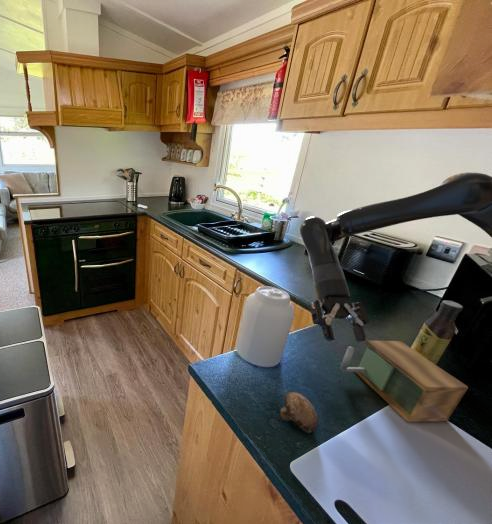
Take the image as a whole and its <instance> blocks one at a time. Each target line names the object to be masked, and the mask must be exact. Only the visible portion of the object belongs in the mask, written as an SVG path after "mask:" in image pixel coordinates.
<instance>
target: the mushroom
mask: <svg viewBox="0 0 492 524" xmlns="http://www.w3.org/2000/svg"><path fill="white" fill-rule="evenodd" d="M279 413H280V417H281V419H282V420H283V421H286V422H289V421H293V422H294V423H295V424H296V425H297V426H298V427H299V428H300V429H301V430H302V431H303V432H305V433H308V434H310V433H313V432H315V431H316V430H317V428H318V425H319V424H318V423H319V422H318V421H319V418H318V414H317V411H316V409H315V407H314V405H313V404H312V403H311V401H309V399H308V398H307V397H305V396H304V395H303V394H301V393H300V392H296V391H288V392H287V393H286V394H285V397H284V406H283V407H281V408H280V411H279Z"/></svg>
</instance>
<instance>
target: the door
mask: <svg viewBox="0 0 492 524" xmlns="http://www.w3.org/2000/svg"><path fill="white" fill-rule="evenodd" d="M354 352H355V348H354V347H353V346H348V347H347V349H346V351H345V354H344V356H343V358H342V361H341V364H340V367H339V368H340V370H341V371H342V373H356V372H362V373H363V374H364V375H365V376H366V377H367V378H368V379H369V380H370V381H371V382H372V383H374V384H375V385H376V386H377V387H378V388H379V389H380V390H381V391H384V389H385V387H386V385H387V383H388V380H389V378H390V376H391V374H392V372H393V370H394V368H395V367H394V366H393V365H392V364H390V363H389V362H388V361H386V360H385V359H384V358H383V357H381V356H380V355H379V354H378V353H376V352H375V351H374V350H373V349H371V348H370V347H366V349H365V351H364V354H363V356H362V358H361V361H360V363H359V365H358V366H349V365H350V362H351V361H352V357H353V355H354Z"/></svg>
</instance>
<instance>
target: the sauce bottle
mask: <svg viewBox="0 0 492 524" xmlns="http://www.w3.org/2000/svg"><path fill="white" fill-rule="evenodd" d="M463 308H464V306H463V305H461V304H460V303H458V302H455V301H453V300H442V301H441V302H440V306H439V308H438V310H437V312H436V313H434V314H433V315H432V316H431V317H429V318H428V319H427V320H426V321H424V322H423V325H422V327H421V328H420V330H419V331H418V333H417V336H416V338H415V339H414V340H413V341H414V342H413V343H412V345H411V347H410V348H412V349H413V350H415V351H416V352H418V353H419V354H421V355H422V356H423V357H425V358H426V359H428V360H429V361H431V362H432V363H434V364H435V365H437V364H438V362H439V360H440V359H441V357H442V356H443V354H444V352H445V350H447V348H448V345H449V344H450V342H451V341H452V338H453V336H454V334H455V332H456V329H457V328H456V323H455V321H456V320H457V317H458V315H459V314H460V313H461V312H462V310H463Z"/></svg>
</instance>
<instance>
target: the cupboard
mask: <svg viewBox="0 0 492 524" xmlns="http://www.w3.org/2000/svg"><path fill="white" fill-rule="evenodd" d="M365 345H366V346H367V347H370V348H371V349H373V350H374V351H375V352H376V353H378V354H379V355H380V356H381V357H383V358H384V359H385V360H386V361H388V362H389V363H390V364H392V365H393V366H394V367H395V368H394V370H393V372H392V374H391V376H390V378H389V380H388V383H387V385H386V387H385V389H384V391H381V390H380V389H379V388H378V387H377V386H376V385H375V384H374V383H372V382H371V381H370V380H369V379H368V378H367V377H366V376H365V375H364V374H363V373H362V372H355V374H356V375H358V376H359V378H361V379H362V380H363V381H364V382H365V383H366V384H367V386H369V387H370V388H371V389H372V390H374V391H375V393H376V394H377V395H379V396H380V398H382V399H383V400H384V401H385V402H386V403H387V404H388V405H389V406H390V407H391V408H392V409H393V410H394V411H396V413H398V414H399V415H400V416H401V417H402V418H403V419H404V420H405V421H406V422H408V423H409V422H411V423H412V422H415V423H416V422H448V421H449V420H450V418H451V416H452V415H453V413H454V411H455V410H456V408H457V407H458V405H459V403H460V402H461V400H462V398H463V397H464V395H465V394H466V392H467V391H468V389H469V387H468V385H466V384H465V383H464V382H461V381H460V380H459V379H457V378H456V377H455V376H454V375H451V374H450V373H449V372H447V371H445V370H444V369H443V368H441V367H440V366H438V365H437V364H434V363H432V362H431V361H429V360H428V359H426V358H425V357H423V356H422V355H421V354H419V353H418V352H416V351H415V350H413V349H412V348H411V347H410V346H409V345H407V344H406V343H404V342H403V341H401V340H365ZM367 347H366V348H367Z"/></svg>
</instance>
